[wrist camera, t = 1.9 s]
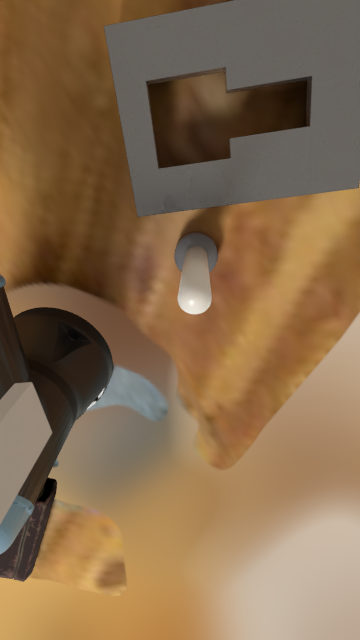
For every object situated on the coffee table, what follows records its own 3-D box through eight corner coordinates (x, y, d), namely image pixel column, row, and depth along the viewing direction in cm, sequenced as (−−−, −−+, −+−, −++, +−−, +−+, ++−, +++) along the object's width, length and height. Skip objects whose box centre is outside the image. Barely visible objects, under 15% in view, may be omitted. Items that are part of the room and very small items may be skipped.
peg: (178, 275, 36) (167, 330, 23) (172, 234, 34) (157, 271, 21) (218, 270, 36) (229, 324, 23) (215, 229, 34) (224, 263, 21)
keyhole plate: (144, 212, 33) (137, 216, 30) (116, 45, 27) (103, 26, 24) (340, 186, 31) (358, 188, 28) (355, 0, 25) (381, -29, 22)
